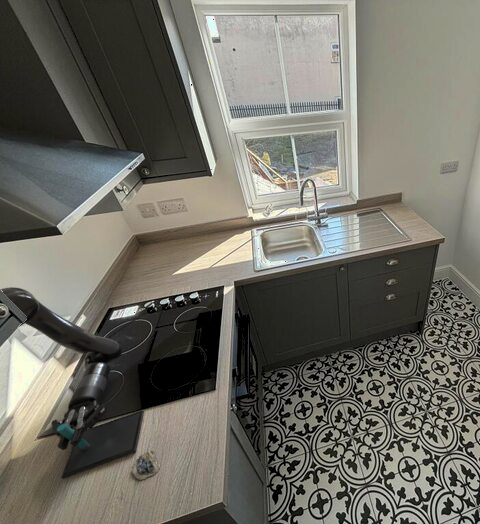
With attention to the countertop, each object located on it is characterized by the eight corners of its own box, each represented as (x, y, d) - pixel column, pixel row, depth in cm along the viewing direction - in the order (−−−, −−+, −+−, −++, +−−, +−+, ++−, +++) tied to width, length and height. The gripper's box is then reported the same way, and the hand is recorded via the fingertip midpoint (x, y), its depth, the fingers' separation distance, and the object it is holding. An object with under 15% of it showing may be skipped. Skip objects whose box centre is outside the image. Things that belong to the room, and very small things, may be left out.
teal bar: (81, 452, 86) (55, 432, 79) (83, 445, 87) (58, 425, 80) (89, 449, 86) (64, 429, 79) (91, 442, 88) (67, 422, 81)
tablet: (63, 479, 81) (60, 477, 80) (79, 433, 91) (77, 432, 90) (136, 451, 86) (134, 450, 85) (144, 411, 96) (142, 409, 95)
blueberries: (147, 448, 86) (144, 445, 85) (168, 457, 84) (165, 454, 83) (126, 474, 81) (123, 471, 80) (148, 484, 79) (145, 481, 78)
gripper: (56, 394, 90) (27, 451, 76) (107, 378, 93) (89, 429, 80) (70, 407, 94) (46, 463, 80) (119, 391, 98) (104, 442, 84)
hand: (68, 446), depth 80 cm, fingers closed on teal bar, 2 cm apart
